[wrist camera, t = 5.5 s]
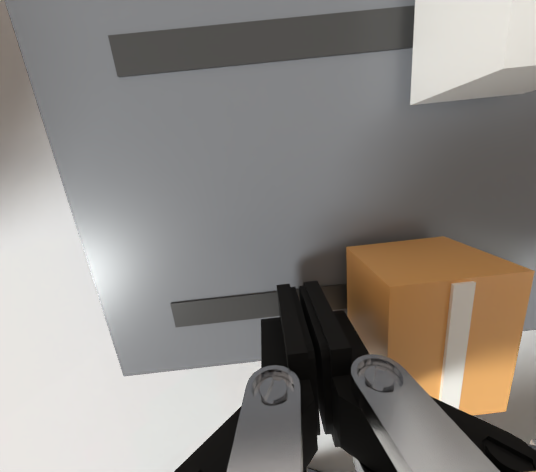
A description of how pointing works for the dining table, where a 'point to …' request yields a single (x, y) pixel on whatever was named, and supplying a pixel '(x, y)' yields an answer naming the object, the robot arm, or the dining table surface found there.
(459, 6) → the block
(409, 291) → the orange fader
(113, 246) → the console
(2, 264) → the dining table surface
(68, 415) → the dining table surface
